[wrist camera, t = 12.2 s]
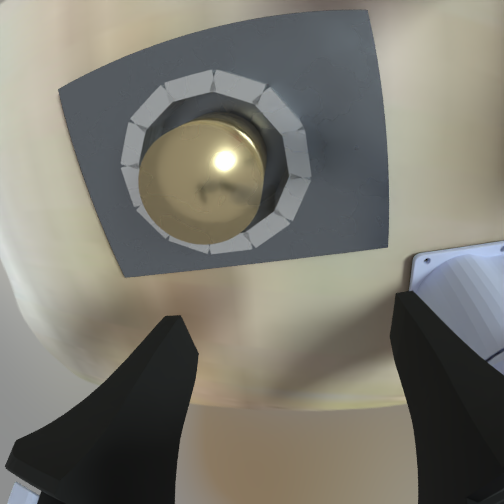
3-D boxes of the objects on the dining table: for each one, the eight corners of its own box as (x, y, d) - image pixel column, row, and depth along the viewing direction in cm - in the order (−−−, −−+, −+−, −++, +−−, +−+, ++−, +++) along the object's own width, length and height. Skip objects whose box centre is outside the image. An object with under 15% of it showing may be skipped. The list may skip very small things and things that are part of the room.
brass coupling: (258, 104, 14) (249, 113, 10) (273, 193, 17) (271, 237, 12) (166, 122, 15) (124, 142, 11) (187, 205, 18) (158, 250, 13)
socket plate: (364, 11, 11) (382, -1, 9) (385, 242, 18) (399, 270, 16) (63, 88, 14) (32, 95, 12) (128, 272, 21) (110, 299, 19)
